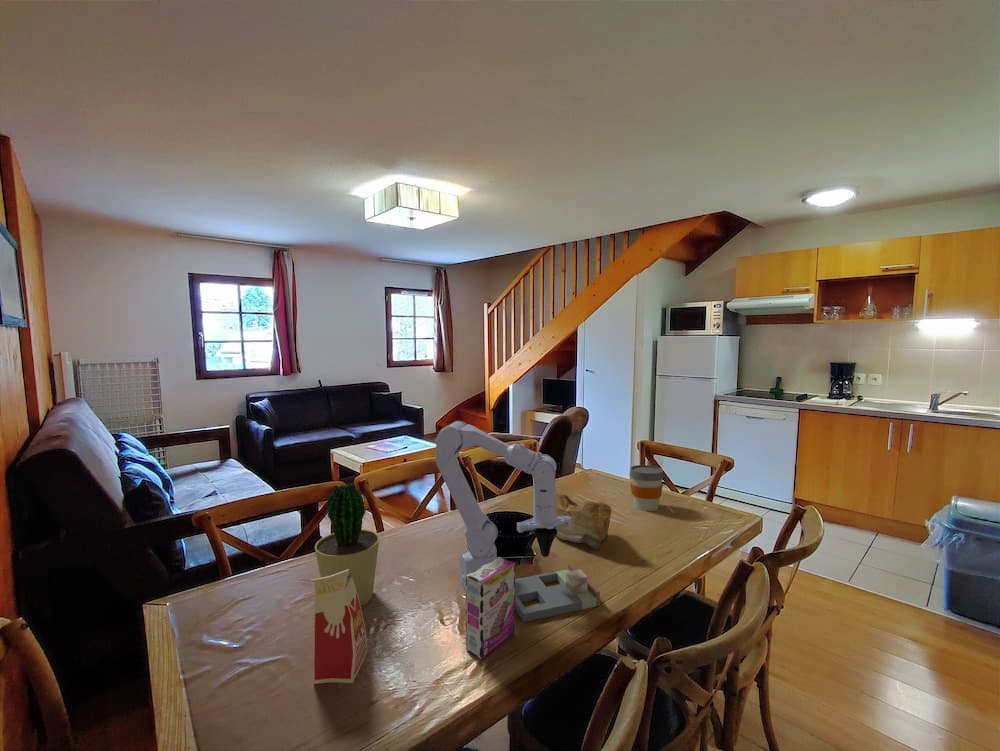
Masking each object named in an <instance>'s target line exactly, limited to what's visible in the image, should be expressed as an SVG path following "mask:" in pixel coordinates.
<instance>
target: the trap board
mask: <svg viewBox="0 0 1000 751" xmlns="http://www.w3.org/2000/svg"><path fill="white" fill-rule="evenodd" d="M573 570H578V569H577V568H576V566H574V565H573V563H567V569H562V570H557V571H552V572H547V573H546V572H545V573H541V574H535V575H530V576H525V577H519V578H515V593H514V611H515V612H516V613H517V614H518V616H519V618H520V619H521V621H522V622H523V623H527V622H531V621H536V620H540V619H545V618H549V617H554V616H555V617H556V616H559V615H563V614H567V613H572V612H577V611H581V610H585V609H590V608H594V607H600V606H601V601H600V599H601V591H600V590H599V589H598V588H597V587H596V586H595V585H594V584H592V582H591V581H589V579H587V593H582V594H578V595H572V594H571V593H570V592H569V590H568V589H567V588H566V572H568V571H573ZM555 581H557V582H558V583H559V584H558V585H553V586H546V585H545V584H547V583H551V582H555ZM532 600H534V601H535V600H537V601H539V602H538V603H539V604H536V605H535V604H534V605H531V606H524V604H523V603H525V602H529V601H532Z"/></svg>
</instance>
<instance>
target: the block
mask: <svg viewBox="0 0 1000 751" xmlns="http://www.w3.org/2000/svg"><path fill="white" fill-rule="evenodd" d="M587 580H588V576H587V575H586V574H585V573H584V572H583V571H582V570H581V569H580V568H579V569H577V570H573V571H568V572H566V588H567V589H568V590H569V592H570V593H571V594H572V595H578V594H582V593H587Z"/></svg>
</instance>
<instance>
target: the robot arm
mask: <svg viewBox="0 0 1000 751" xmlns="http://www.w3.org/2000/svg"><path fill="white" fill-rule="evenodd" d="M434 443H435V464H436V466H437V469H438V470H439V473H440V474H441V477H442V478H443V481H444V483H445V485H446V488H447V489H448V491H449V494H450V496H451V497H452V499H453V502H454V503H455V506H456V508H457V510H458V512H459V514H460V516H461V518H462V520H463V522H464V536H465V538H466V543H467V544H466V546H467V550H468V551H467V552H465V553H462V554H461V555H460V579H459V580H460V582H461V584H462V587H463V589H464V591H465V592H466V575H467V574H469V573H471V572H473V571H475V570H476V569H478V568H480V567H482V566H484V565H485V564H487V563H489V562H491V561H492V560H494V559H496V558H498V556H497V555H498V554H497V553H498V552H497V551H498V550H497V546H496V544H495V541H496V540H497V538H498V536H499V535H498V534H499V531H498V528H497V525H496V524H495V523H494V522H493V521H491V519H490V518H489V517H488V515H487V514H486V513H485V512H483V511H482V509H481V508H480V506H479V503H478V501H477V499H476V497H475V495H474V493H473V490H472V488H471V486H470V485H469V483H468V480H467V479H466V476H465V474H464V472H463V470H462V467H461V466H460V464H459V462H458V457H459V454H460V451H461V449H462V448H465V449H466V448H469V447H475V446H476V447H479V448H481V449H484V450H486V451H489V452H491V453H493V454H496V455H499V456H501V457H503V458H504V460H505V463H506V464H507V465H509V466H511V467H514V468H515V469H518V470H520V471H522V472H524V473H526V474H528V475H531V476H532V478H533V492H532V493H533V501H532V502H533V511H532V512H533V517H532V518H530V519H526V520H523V521H519V522H516V531H517V532H518V533H521V534H523V533H524V532H526V531H527V532H528V531H533V533H534V535H535V538H536V540H537V543H538V547H539V551H540V554H541V556H542V557H543V558H546V557H547V558H548V557H550V551H551V548H552V545H553V542H554V541H555V538H556V537H557V536H556V535H557V529H556V528H555V527H556V526H563V525H568V526H570V525H572V518H571V517H569V516H556V493H557V492H556V491H557V490H556V489H557V486H556V471H557V463H556V461H555V459H554V457H552V456H550V454H546V453H545V454H543V453H542V452H540V451H538V452H536V451H534V450H532V449H529V448H527V447H526V444H524V443H522V442H521V443H519V444H518V443H515V442H514V443H513V444H508V443H506V442H504V441H502V440H500V439H498V438H496V437H495V436H493V435H491V434H488V433H487V432H485V431H483V430H481V429H479V428H477V427H476V426H474V425H472V424H468V423H466V422H465V421H461V420H455V421H453V422H451V423H450V424H449V425H447V426H445V427H442V428H441V429H440V431H439V432H438V434H437V435H436V438H435V440H434Z"/></svg>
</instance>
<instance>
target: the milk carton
mask: <svg viewBox="0 0 1000 751" xmlns="http://www.w3.org/2000/svg"><path fill="white" fill-rule="evenodd" d="M348 573H349V569H347V570H344V571H342V572H339V573H336V574H334V575H331V576H327V577H322V578H321V577H318V578H312V579H310V582H312V583H313V584H314V597H315V603H314V622H313V658H312V659H313V685H316V684H317V685H319V684H325V683H326V684H327V683H338V684H339V683H341V684H344V683H345V684H353V683H354V682H355V680H356V677H357V676H358V673H359V671H360V669H361V667H362V665H363V663H364V660H365V657H367V656H366V655H367V653H368V651H369V648H368V640H367V630H366V624H365V621H364V616H363V612H362V611H363V610H362V606H361V605H360V601H359V598H358V594H357V591H356V588H355V584H354V581H353V578H352V576H349V575H348Z"/></svg>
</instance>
